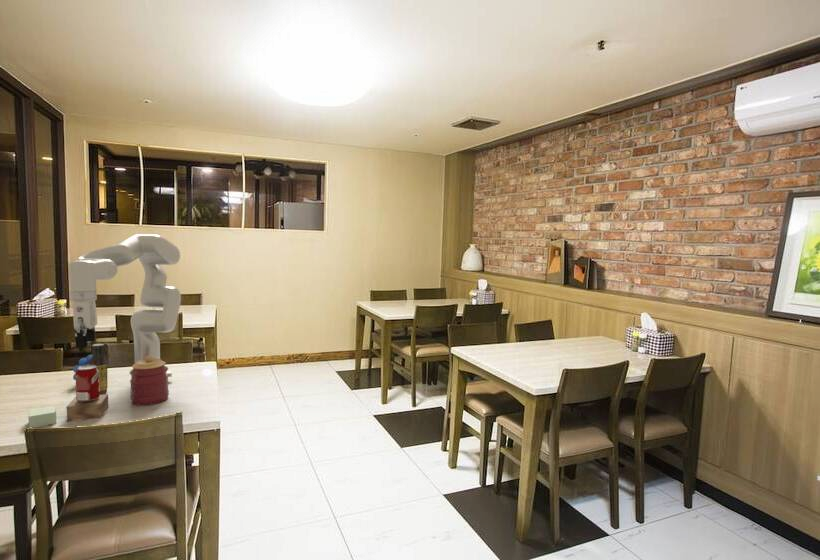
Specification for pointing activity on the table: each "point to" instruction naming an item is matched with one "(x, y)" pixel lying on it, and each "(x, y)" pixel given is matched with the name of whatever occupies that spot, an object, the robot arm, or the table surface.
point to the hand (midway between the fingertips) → (85, 344)
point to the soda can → (87, 383)
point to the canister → (149, 381)
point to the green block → (42, 416)
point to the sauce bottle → (100, 366)
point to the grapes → (82, 363)
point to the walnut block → (87, 408)
